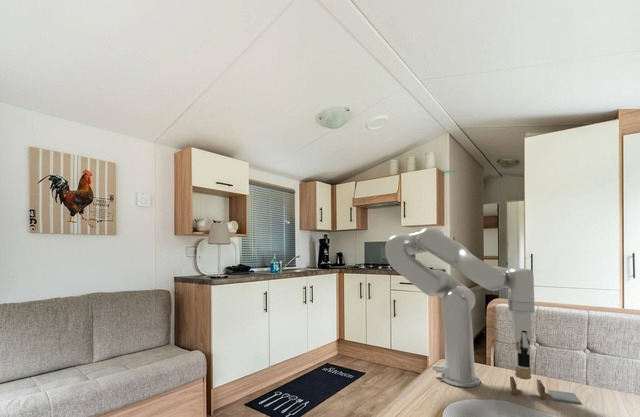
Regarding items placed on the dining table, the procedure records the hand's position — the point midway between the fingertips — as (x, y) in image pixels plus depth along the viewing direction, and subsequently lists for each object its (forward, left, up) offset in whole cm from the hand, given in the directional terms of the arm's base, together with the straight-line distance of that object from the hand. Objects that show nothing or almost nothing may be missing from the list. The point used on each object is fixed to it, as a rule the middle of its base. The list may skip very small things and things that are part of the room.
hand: (522, 363), depth 116 cm
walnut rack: (+1, 0, -9) cm, 9 cm away
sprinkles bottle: (0, 0, -5) cm, 5 cm away
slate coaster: (+11, 0, -9) cm, 14 cm away
